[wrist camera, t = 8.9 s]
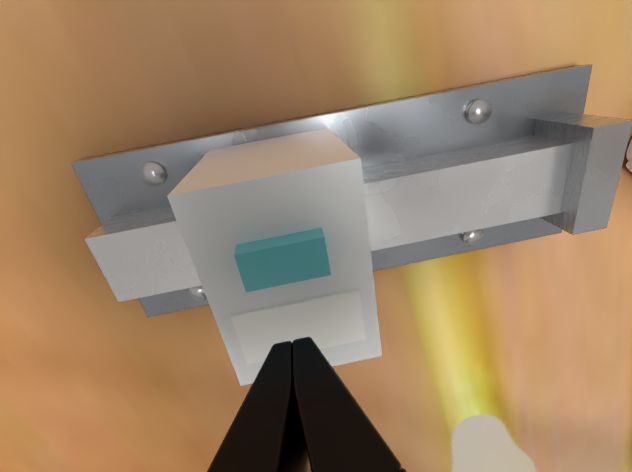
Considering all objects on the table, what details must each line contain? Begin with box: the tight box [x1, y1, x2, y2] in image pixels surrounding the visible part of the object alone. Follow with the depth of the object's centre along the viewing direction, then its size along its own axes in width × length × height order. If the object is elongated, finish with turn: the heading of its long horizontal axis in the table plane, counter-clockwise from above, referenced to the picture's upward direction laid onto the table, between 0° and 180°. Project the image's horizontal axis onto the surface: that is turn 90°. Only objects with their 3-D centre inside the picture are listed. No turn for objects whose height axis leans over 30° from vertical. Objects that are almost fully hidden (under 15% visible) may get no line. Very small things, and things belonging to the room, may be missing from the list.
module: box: [167, 128, 382, 386], centre depth 12 cm, size 7×5×7 cm
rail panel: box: [71, 65, 632, 317], centre depth 14 cm, size 8×22×4 cm, turn 99°
